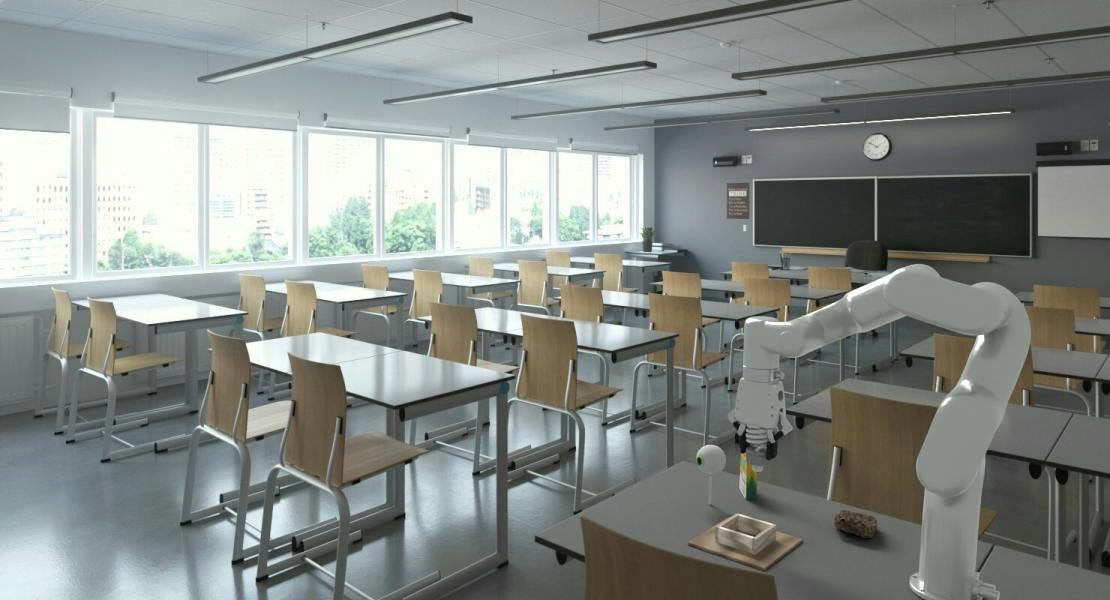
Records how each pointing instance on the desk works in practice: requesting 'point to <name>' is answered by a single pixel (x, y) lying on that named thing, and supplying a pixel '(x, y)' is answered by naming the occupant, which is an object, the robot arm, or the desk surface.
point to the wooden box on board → (746, 541)
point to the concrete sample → (856, 523)
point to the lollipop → (711, 462)
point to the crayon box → (747, 479)
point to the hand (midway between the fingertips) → (757, 454)
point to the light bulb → (756, 447)
